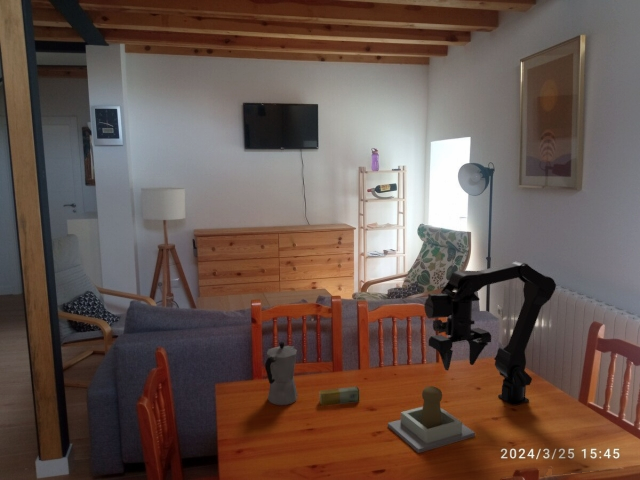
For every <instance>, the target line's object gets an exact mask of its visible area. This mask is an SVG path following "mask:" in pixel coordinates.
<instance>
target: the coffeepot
mask: <svg viewBox="0 0 640 480" xmlns="http://www.w3.org/2000/svg"><path fill="white" fill-rule="evenodd" d="M278 344H279V346H276V347H272V348H268V350H267V352H266V357H267V359H266V361H265V363H264V368H265V372H266V376H267V379H268V383H269V389H268V390H269V391H268V395H267V401H269V403H271V404H273V405H275V406H276V405H277V406H286V405H290V404H293V403H295V402H296V401H297V399H298V398H297V397H298V392H297V387H296V382H295V380H296V379H295V377H294V373H295V367H296V360H297V352H298V350H297V349H296V348H295V345H293V346H292V345H290V344H289V345H285V342H284V341H281V342H279V343H278Z"/></svg>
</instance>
